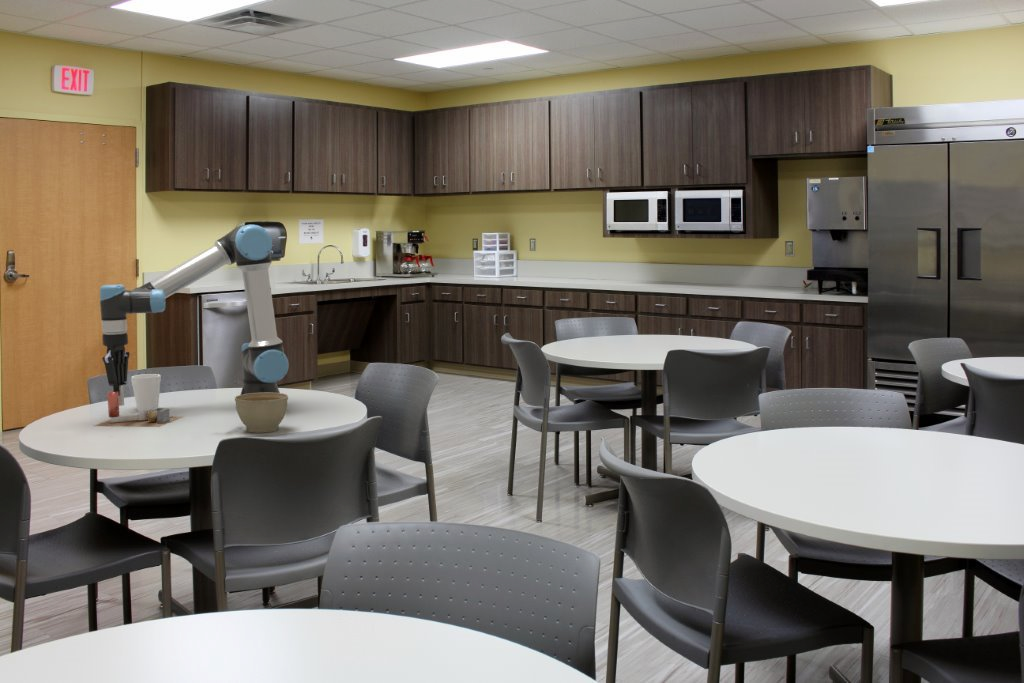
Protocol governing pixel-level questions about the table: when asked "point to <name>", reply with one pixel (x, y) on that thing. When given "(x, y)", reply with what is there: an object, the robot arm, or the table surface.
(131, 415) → the lever
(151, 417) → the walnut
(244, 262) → the robot arm
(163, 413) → the two-tone textured tile
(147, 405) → the foam cup
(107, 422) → the board
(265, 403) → the planter bowl
